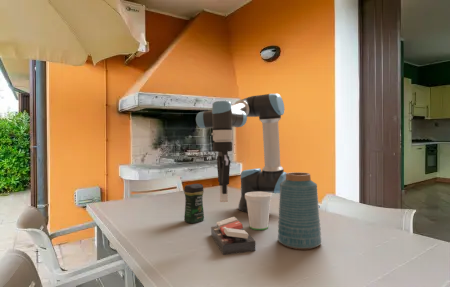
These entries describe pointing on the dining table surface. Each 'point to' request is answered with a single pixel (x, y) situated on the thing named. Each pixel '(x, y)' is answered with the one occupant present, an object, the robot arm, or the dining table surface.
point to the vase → (299, 212)
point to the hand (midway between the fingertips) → (223, 201)
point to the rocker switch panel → (232, 242)
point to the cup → (258, 209)
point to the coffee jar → (194, 203)
